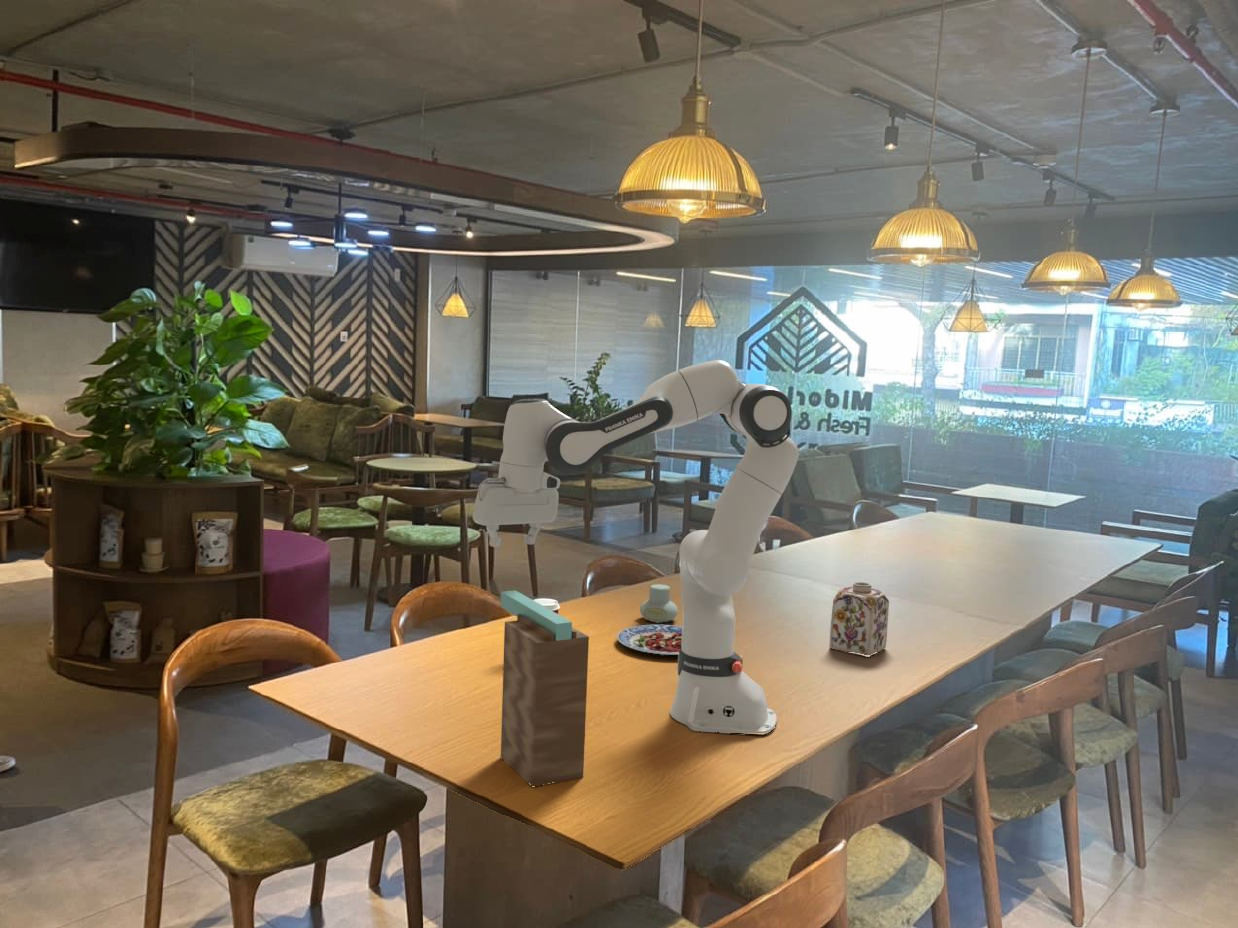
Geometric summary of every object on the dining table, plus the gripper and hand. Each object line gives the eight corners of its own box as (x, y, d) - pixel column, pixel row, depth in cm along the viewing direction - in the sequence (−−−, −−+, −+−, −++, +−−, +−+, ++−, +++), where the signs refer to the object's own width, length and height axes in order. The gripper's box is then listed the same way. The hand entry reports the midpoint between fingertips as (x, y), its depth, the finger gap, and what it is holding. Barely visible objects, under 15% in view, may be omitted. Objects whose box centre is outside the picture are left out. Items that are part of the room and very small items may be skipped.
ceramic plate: (714, 636, 266) (715, 625, 266) (714, 665, 240) (715, 654, 240) (621, 629, 268) (622, 619, 268) (611, 658, 243) (612, 646, 242)
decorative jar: (869, 659, 250) (874, 591, 248) (827, 649, 257) (832, 583, 255) (887, 649, 260) (892, 583, 258) (846, 640, 267) (851, 576, 265)
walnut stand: (500, 757, 180) (504, 615, 177) (548, 748, 185) (553, 610, 182) (532, 787, 168) (537, 636, 165) (583, 777, 173) (589, 630, 170)
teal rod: (500, 606, 188) (501, 591, 187) (514, 605, 189) (515, 590, 189) (556, 640, 167) (556, 624, 167) (571, 638, 169) (572, 622, 168)
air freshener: (636, 621, 276) (637, 587, 275) (644, 614, 284) (645, 581, 283) (673, 626, 273) (675, 592, 272) (680, 619, 281) (681, 585, 279)
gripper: (491, 480, 184) (483, 551, 186) (566, 480, 200) (558, 545, 201) (470, 475, 188) (462, 544, 190) (545, 475, 204) (537, 539, 205)
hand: (512, 545), depth 195 cm, fingers open, 8 cm apart
